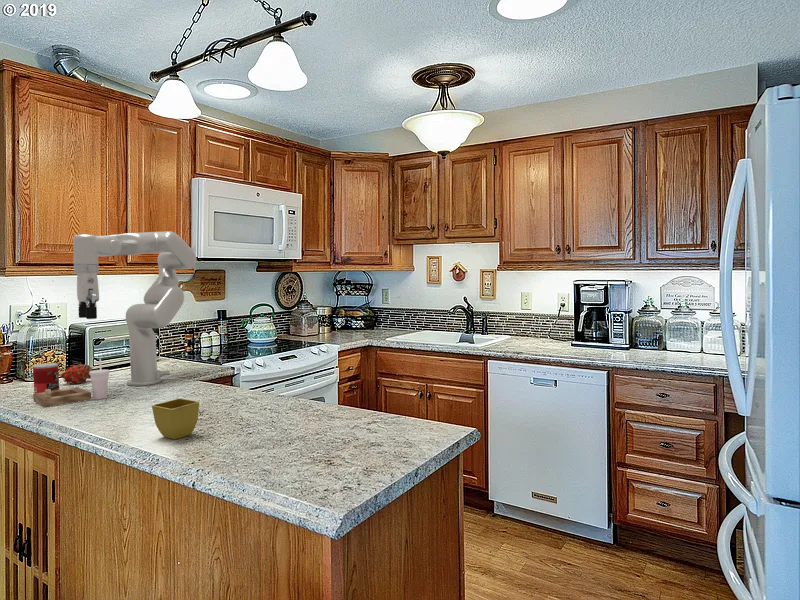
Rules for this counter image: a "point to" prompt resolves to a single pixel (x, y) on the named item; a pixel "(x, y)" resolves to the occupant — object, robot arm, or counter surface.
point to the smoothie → (99, 382)
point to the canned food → (45, 377)
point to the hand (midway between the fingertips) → (87, 318)
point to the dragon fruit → (77, 373)
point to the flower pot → (176, 417)
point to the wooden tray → (61, 396)
